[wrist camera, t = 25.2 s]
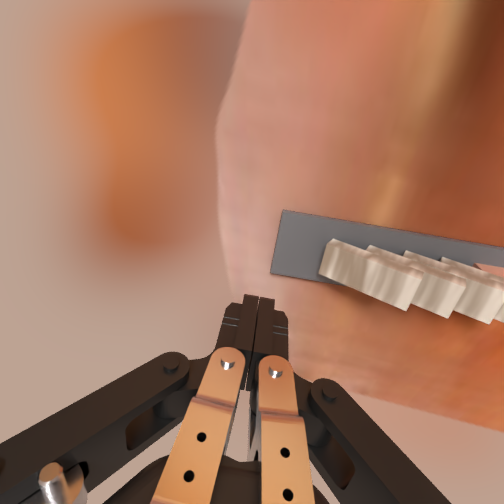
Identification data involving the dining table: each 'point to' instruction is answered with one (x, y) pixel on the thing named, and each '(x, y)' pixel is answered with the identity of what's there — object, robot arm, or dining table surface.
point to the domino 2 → (430, 285)
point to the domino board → (363, 244)
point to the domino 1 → (370, 273)
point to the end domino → (490, 269)
